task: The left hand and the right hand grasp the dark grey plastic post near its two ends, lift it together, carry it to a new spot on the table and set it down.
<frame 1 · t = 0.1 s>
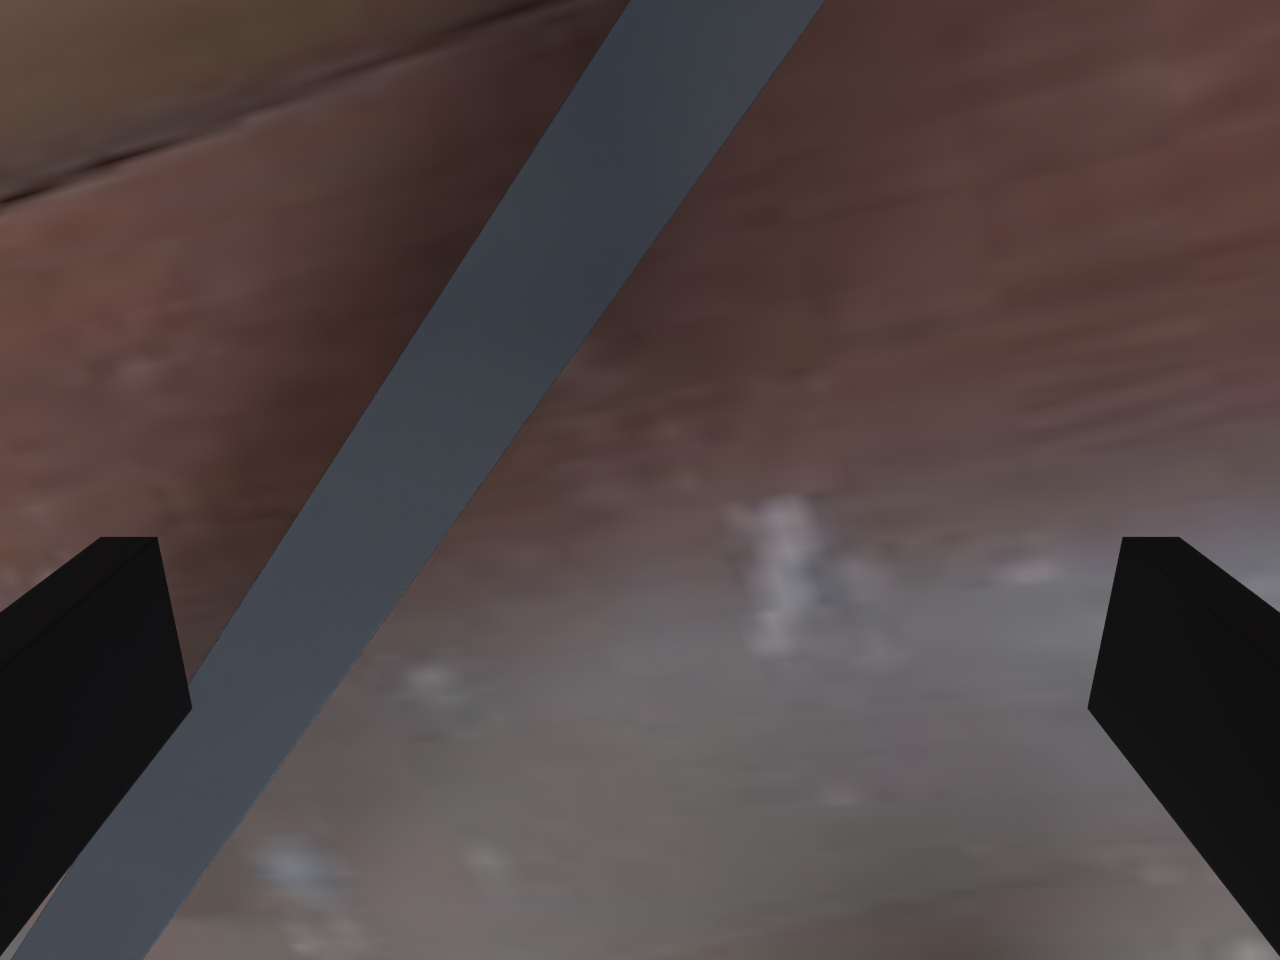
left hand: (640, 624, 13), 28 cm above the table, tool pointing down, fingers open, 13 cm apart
post: (466, 387, 41), on the table
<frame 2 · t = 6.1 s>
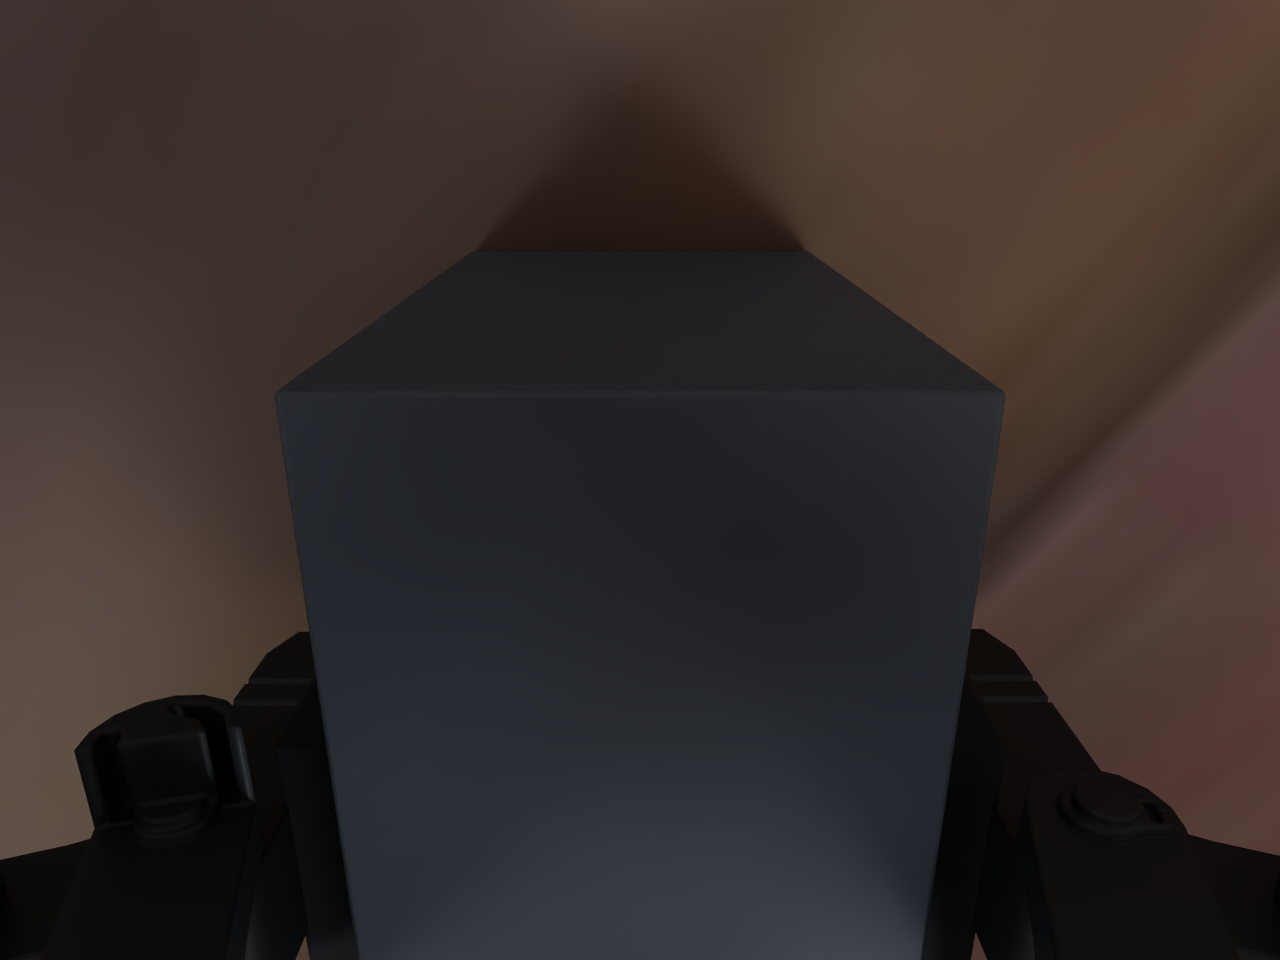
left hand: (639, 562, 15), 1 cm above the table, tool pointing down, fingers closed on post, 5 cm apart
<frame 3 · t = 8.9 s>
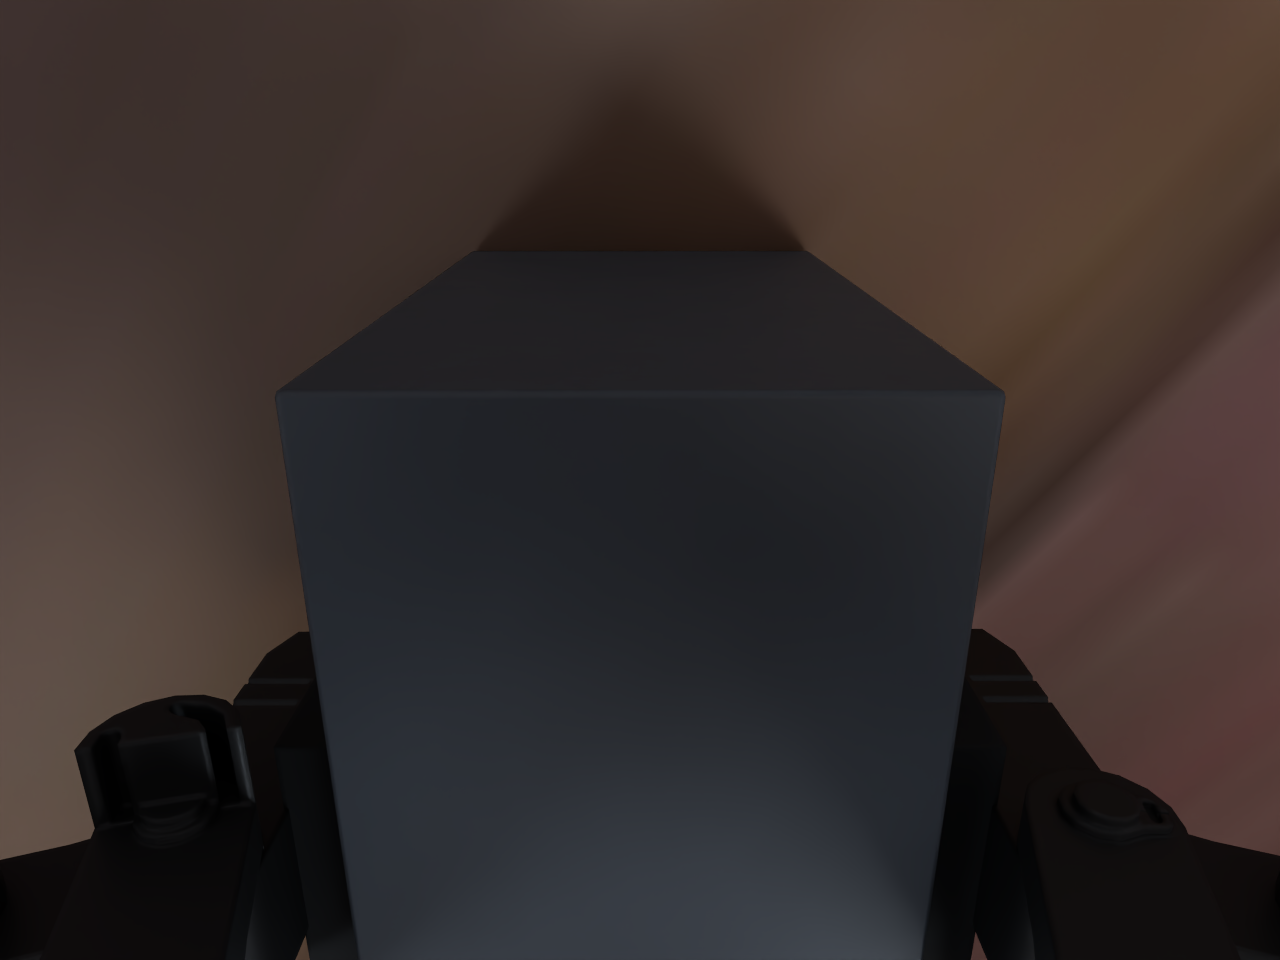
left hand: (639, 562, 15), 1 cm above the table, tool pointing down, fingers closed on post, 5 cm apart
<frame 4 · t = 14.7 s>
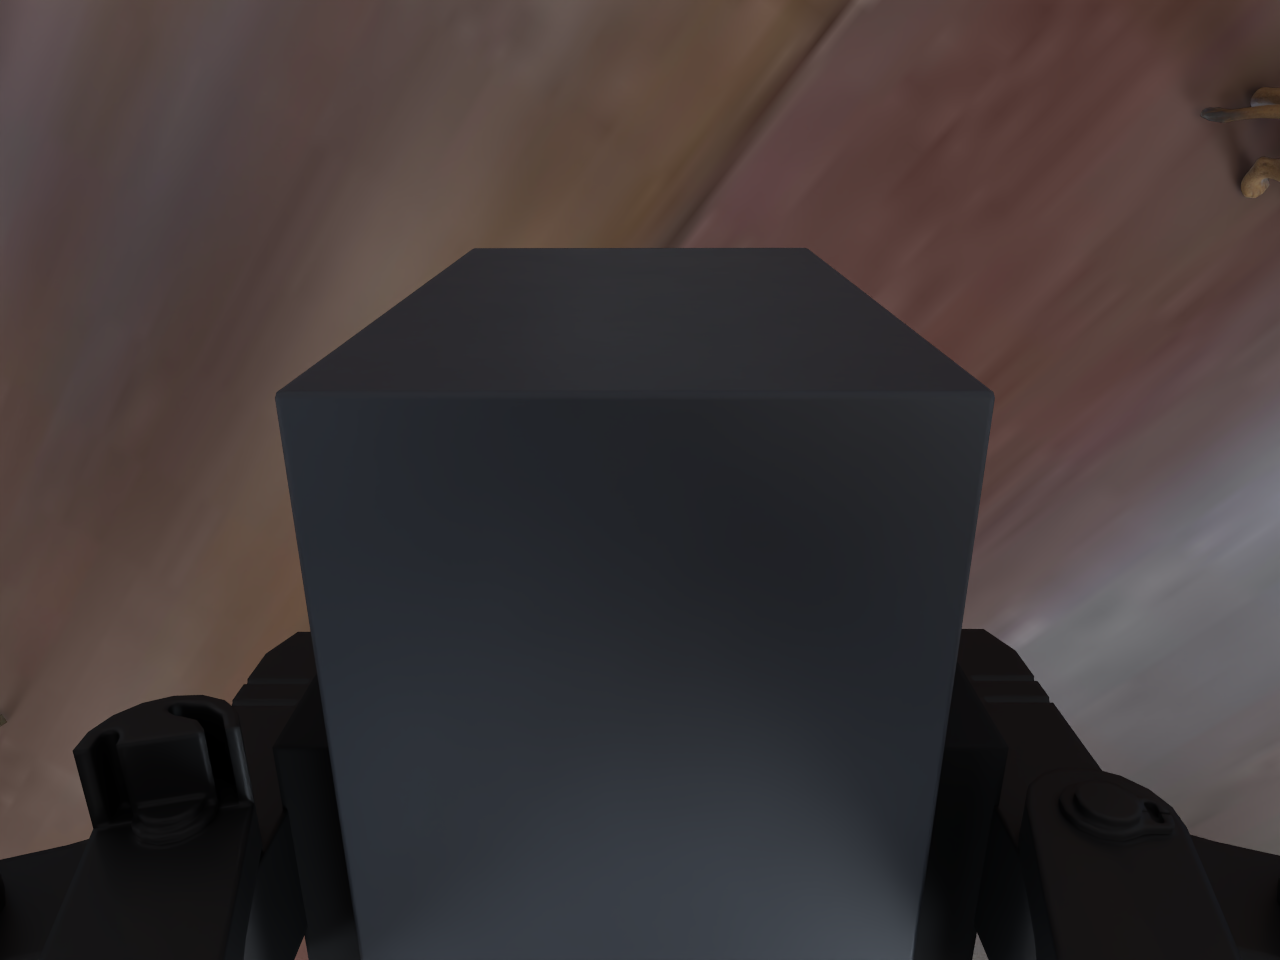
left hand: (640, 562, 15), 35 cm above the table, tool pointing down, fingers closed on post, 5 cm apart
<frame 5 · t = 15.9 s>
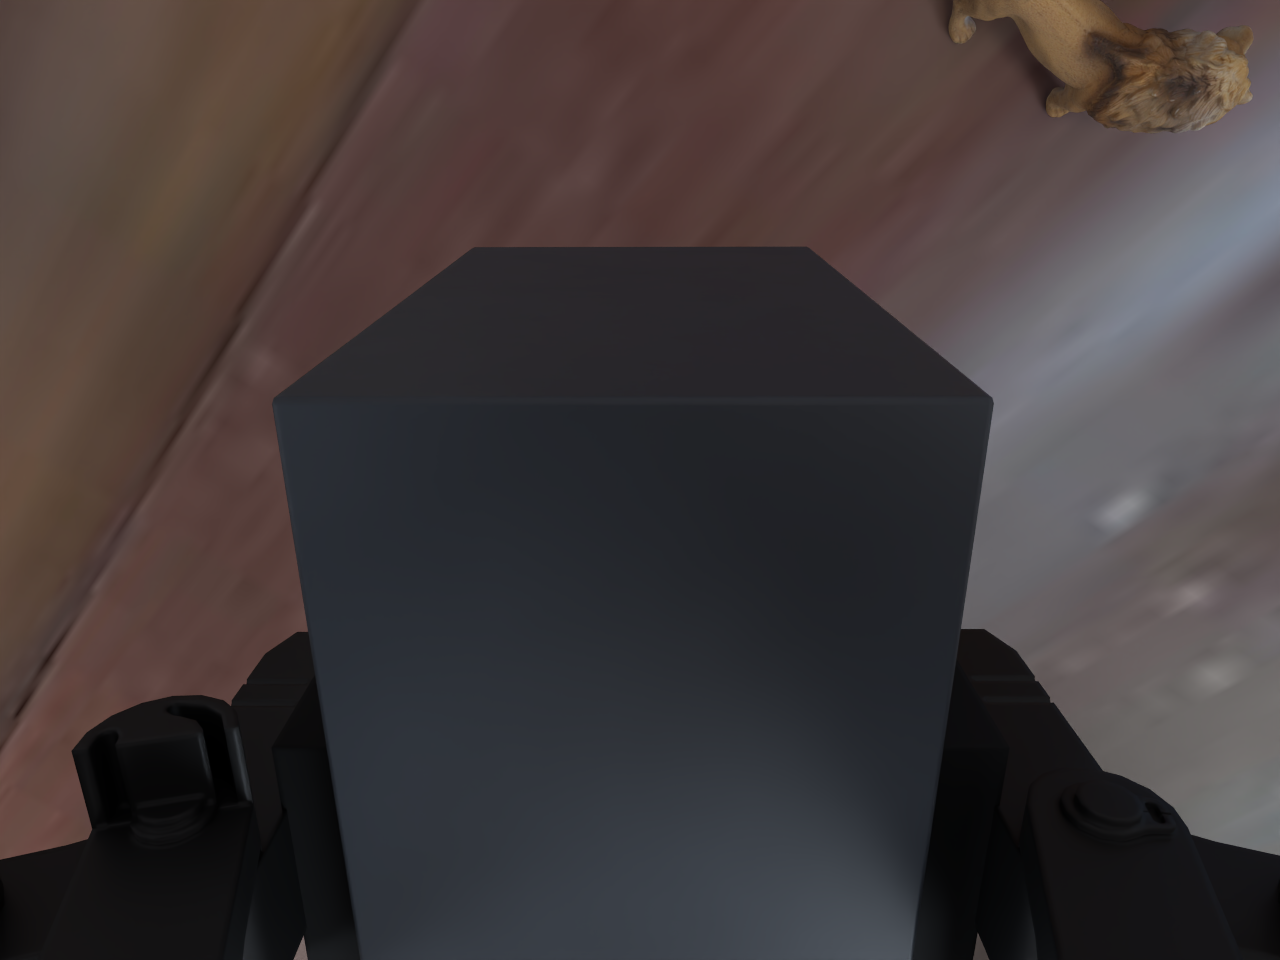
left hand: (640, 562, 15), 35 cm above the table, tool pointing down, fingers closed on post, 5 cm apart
lion figurine: (1033, 31, 43), on the table
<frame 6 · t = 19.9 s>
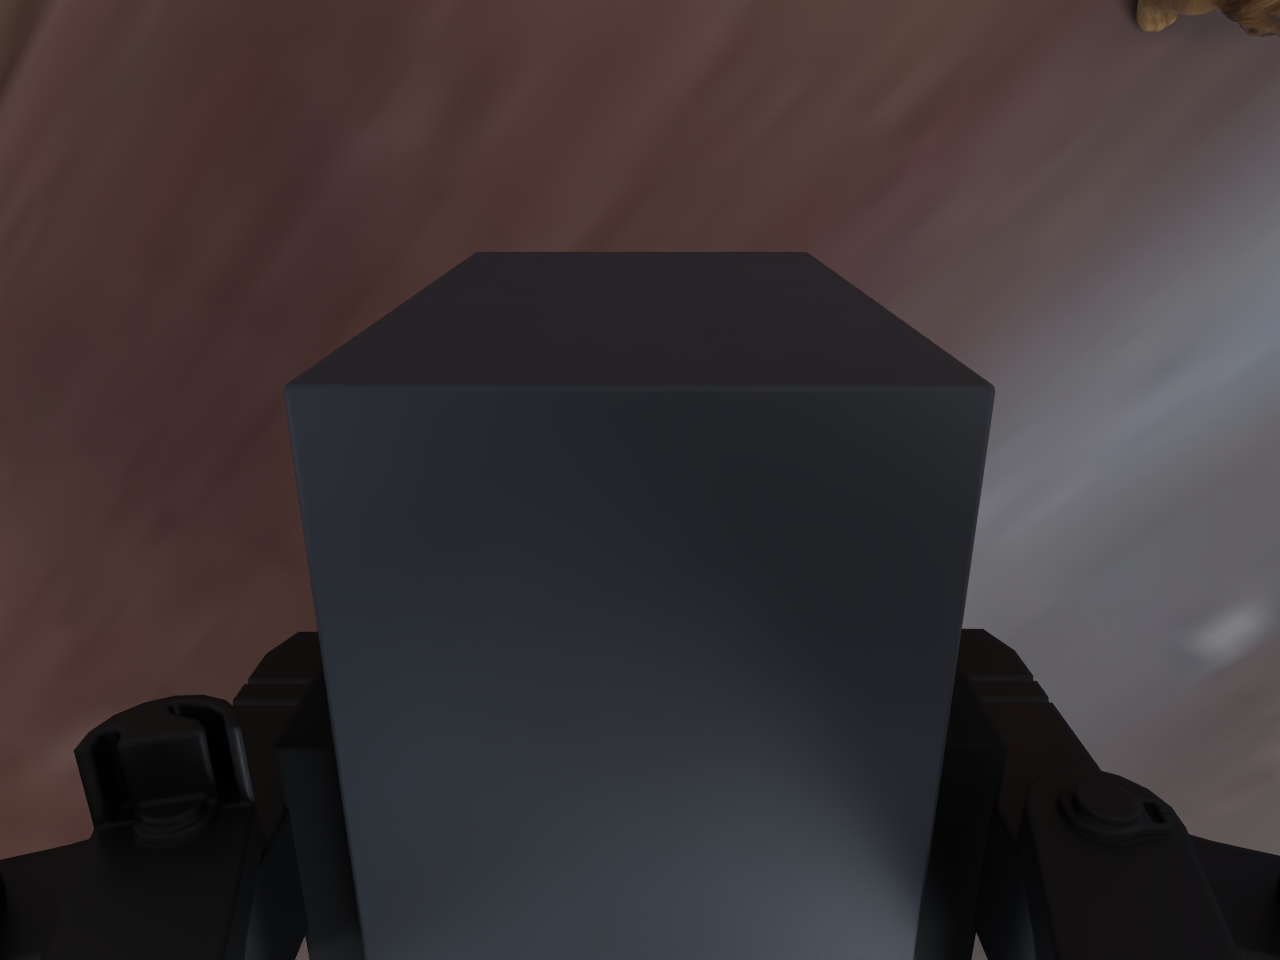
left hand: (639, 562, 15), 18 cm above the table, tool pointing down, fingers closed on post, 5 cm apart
when the left hand's fingers open (2 cm above the table, at t = 23.2 s): post drops 2 cm, on the table.
when the right hand's fingers open (2 cm above the table, at t = 23.2 s): post drops 2 cm, on the table.
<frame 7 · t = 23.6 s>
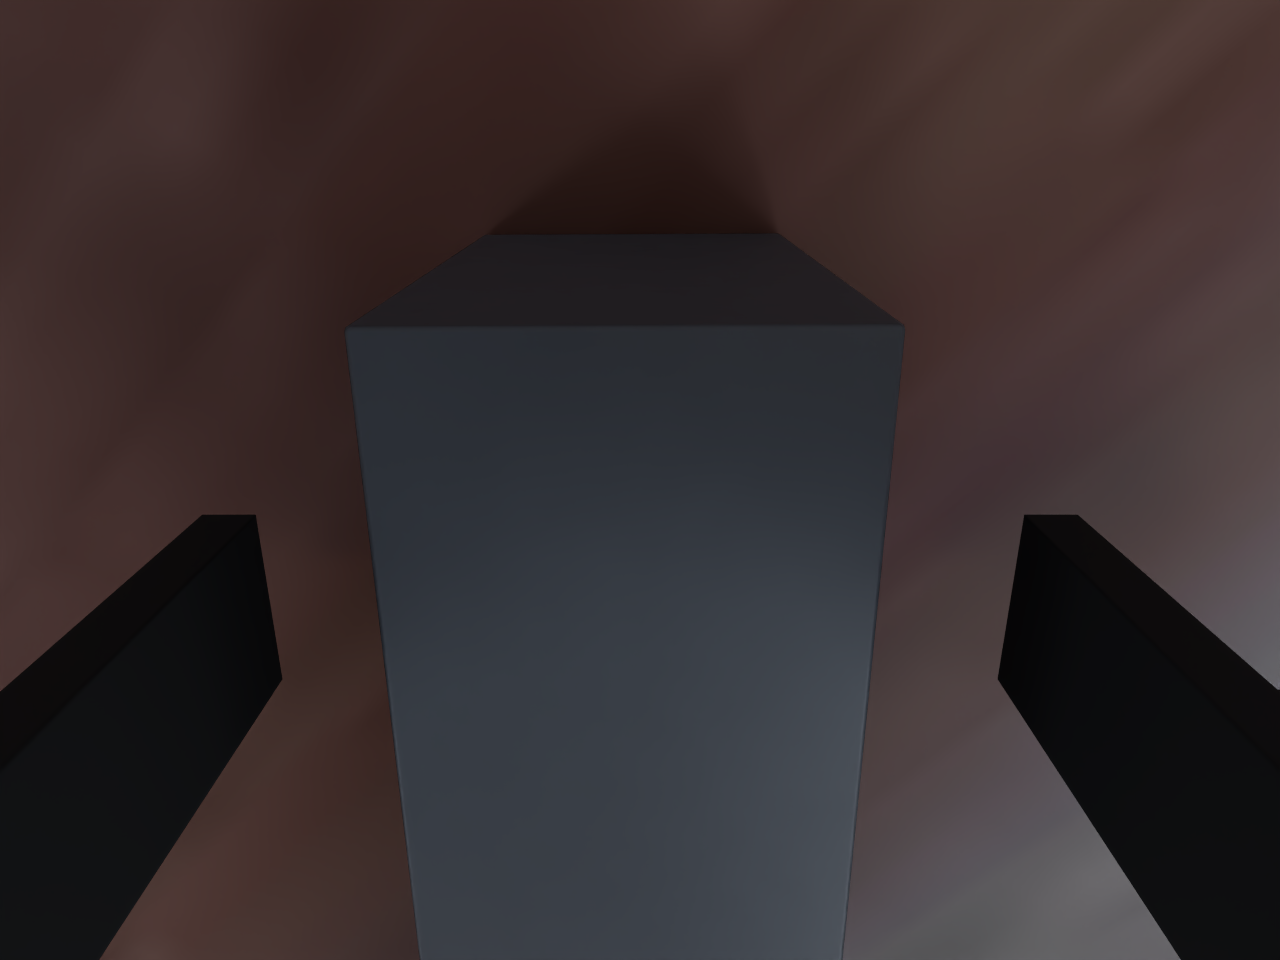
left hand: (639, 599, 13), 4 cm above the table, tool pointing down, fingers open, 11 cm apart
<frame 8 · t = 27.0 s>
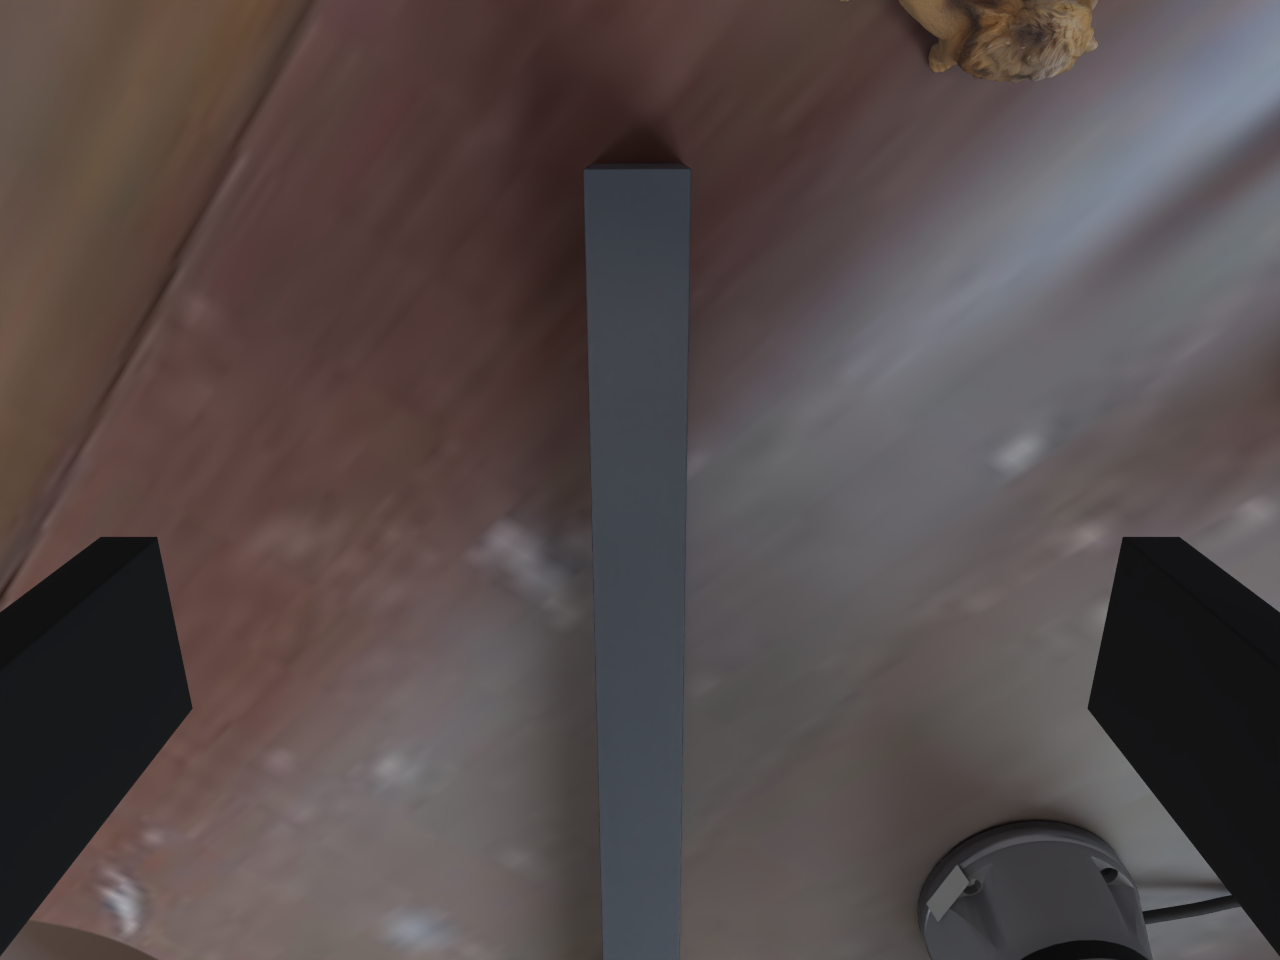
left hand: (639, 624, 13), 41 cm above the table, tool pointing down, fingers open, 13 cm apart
post: (640, 728, 62), on the table
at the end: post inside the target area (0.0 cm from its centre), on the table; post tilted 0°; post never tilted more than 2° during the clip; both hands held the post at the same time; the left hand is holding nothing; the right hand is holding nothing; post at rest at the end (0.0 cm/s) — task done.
